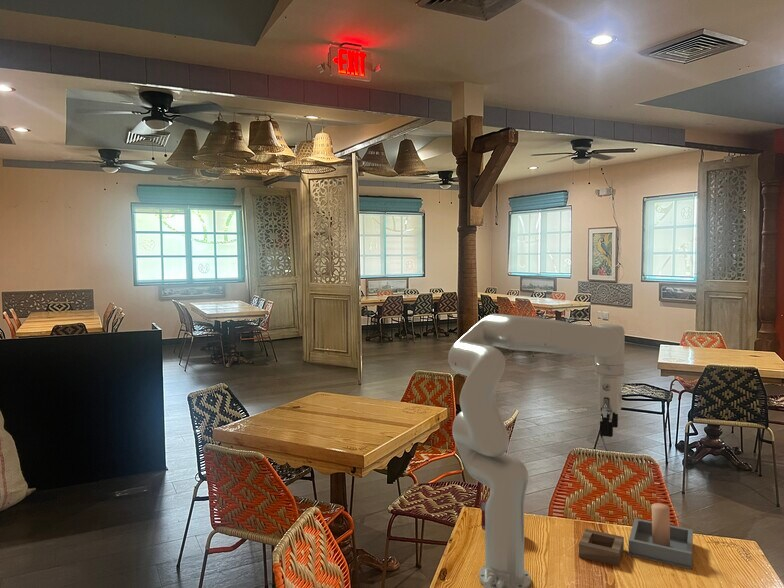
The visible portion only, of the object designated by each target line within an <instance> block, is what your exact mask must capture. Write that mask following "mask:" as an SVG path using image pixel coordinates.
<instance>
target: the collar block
mask: <svg viewBox="0 0 784 588" xmlns="http://www.w3.org/2000/svg"><path fill="white" fill-rule="evenodd" d="M624 537H625V536H621V535H617V534H612V533H607V532H602V531H598V530H594V529H588V528H585V529H584V532H583V534H582V536H581V539H580V541H579V543H578V558H582V559H585V560H590V561H594V562H599V563H602V564H607V565H611V566H614V567H619V566H620V563H621V561H622V557H623V553H624V546H625V544H624V543H625V538H624Z"/></svg>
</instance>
